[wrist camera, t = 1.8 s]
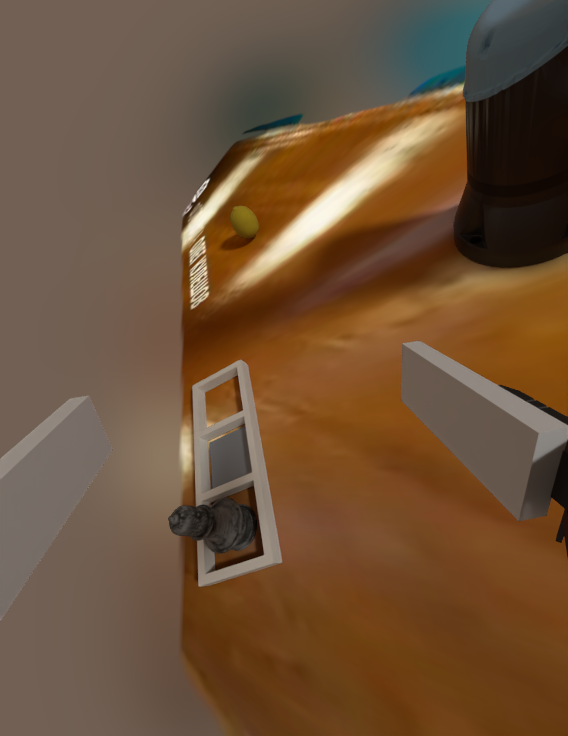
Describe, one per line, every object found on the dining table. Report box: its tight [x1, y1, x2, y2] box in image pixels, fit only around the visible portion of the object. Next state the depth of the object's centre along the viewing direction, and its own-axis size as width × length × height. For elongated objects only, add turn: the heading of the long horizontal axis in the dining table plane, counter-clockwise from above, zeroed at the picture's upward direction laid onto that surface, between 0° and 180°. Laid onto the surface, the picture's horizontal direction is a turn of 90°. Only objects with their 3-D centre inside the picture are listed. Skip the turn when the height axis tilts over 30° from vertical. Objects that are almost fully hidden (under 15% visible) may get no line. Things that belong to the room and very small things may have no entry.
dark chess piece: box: [168, 498, 257, 553], centre depth 34 cm, size 6×6×12 cm
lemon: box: [230, 206, 259, 239], centre depth 68 cm, size 6×6×8 cm
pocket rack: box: [192, 360, 282, 587], centre depth 44 cm, size 29×10×2 cm, turn 14°
